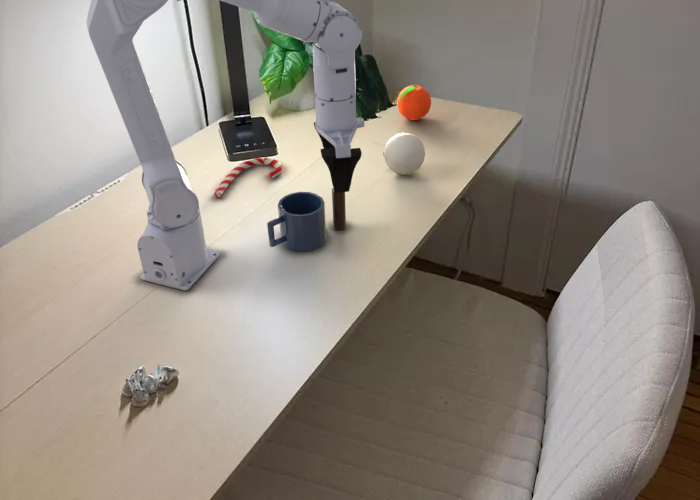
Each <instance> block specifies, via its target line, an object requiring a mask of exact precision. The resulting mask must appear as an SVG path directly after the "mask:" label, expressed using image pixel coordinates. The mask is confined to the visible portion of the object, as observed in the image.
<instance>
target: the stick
mask: <svg viewBox="0 0 700 500" xmlns="http://www.w3.org/2000/svg"><path fill="white" fill-rule="evenodd" d="M331 201H332V202H331V203H332V204H331V205H332V225H333V226H332V227H333V229H334V230H335V231H344V230H345V229H346V228H347V218H346V217H347V216H346V215H347V214H346V213H347V212H346V211H347V210H346V192H340V193H335V191H334V188H333V187H332V188H331Z"/></svg>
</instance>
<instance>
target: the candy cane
mask: <svg viewBox="0 0 700 500" xmlns="http://www.w3.org/2000/svg"><path fill="white" fill-rule="evenodd" d="M263 165H264V166H271V167H274V168H275V169H273V170H272V171H270V172H269V173H268V175H269V178H270V179H275V178H276V177H278V176H279V175H280V174H281V173H282V170H283V166H282V163H281V162H280V161H278V160H277V159H274V158H271V157H255V158H250V159H248V160H245V161H243V162H241V163H239V164H238V165H237V166H235V167H233V169H231V170H230V171H229V172H228V173H227V175H226V176H225V177H223V179H222V180H221V181H220V183H219V185H218V186H217V188H216V189H215V191H214V193H213V196H214V198H216V199H220V198H221V197H222V196H223V194H224V192H225V191H226V189H228V187H229V185H230V184H231V183H232V182H233V181H234V179H235V178H236V177H238V175H240V173H242V172H243V171H245V170H247V169H249V168H252V167H255V166H263Z"/></svg>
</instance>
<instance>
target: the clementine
mask: <svg viewBox="0 0 700 500" xmlns="http://www.w3.org/2000/svg"><path fill="white" fill-rule="evenodd" d="M396 104H397V105H396V106H397V110H398V112H399V114H401V116H402V117H404V118H405V119H407V120H410V121H419V120H421V119H423V118H424V117H425V116H427V114H428V113H429V112H430V110H431V107H432V99H431V95H430V92H428V90H427V89H426V88H424V87H422V86H421V85H418V84H411V85H408V86H406V87H404V88H403V89H402V90H401V91H400V92H399V94H398V97H397V100H396Z"/></svg>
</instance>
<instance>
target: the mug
mask: <svg viewBox="0 0 700 500" xmlns="http://www.w3.org/2000/svg"><path fill="white" fill-rule="evenodd" d="M325 203H326V202H325V200H324V198H323V197H322V196H320V195H319V194H318V193H315V192H311V191H297V192H291V193H288V194H286V195H284V196H283V197H281V198H280V199H279V201H278V203H277V213H278V217H276V218H274V219H271V220H269V221H268V222H267V223H266V226H267V235H268V244H269V245H268V246H269V247H270V248H275V247H276V246H279V245H281V244H282V246H283V247H284V248H286V249H287V250H289V251H292V252H296V253H297V252H298V253H307V252H312V251H315V250H317V249H320V248H321V247H322V246H323V245H324V244H325V242H326V240H327V226H326V225H327V223H326V205H325ZM277 225H279V234H280V237H278V238H276V237H275V228H274V227H275V226H277Z"/></svg>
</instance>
